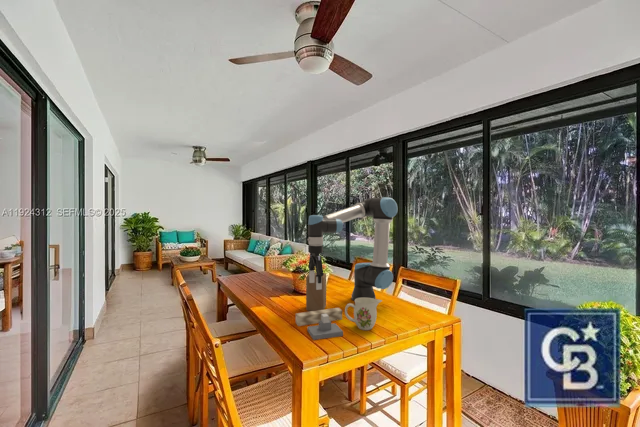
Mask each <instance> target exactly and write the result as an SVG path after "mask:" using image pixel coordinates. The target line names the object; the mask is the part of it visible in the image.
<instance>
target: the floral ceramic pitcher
mask: <svg viewBox="0 0 640 427" xmlns="http://www.w3.org/2000/svg"><path fill="white" fill-rule="evenodd" d="M381 302H383V300H382V299H377V298H376V299H374V298H366V297H362V298H356V299H355V301H354V303H351V302H349V303H347V304H346V305H345V308H344V315H345V317H346V318H347V320H349V321H351V322H353V323H355V324H356V327H357V328H358V329H359V330H362V331H370V330H372V329H373V327H374V326H375V324H376V321H377V314H378V312H377V306H378V305H379V303H381ZM349 307H352V309H353V317H351V316H350V315H349V314H348V308H349Z"/></svg>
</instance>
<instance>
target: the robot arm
mask: <svg viewBox="0 0 640 427" xmlns="http://www.w3.org/2000/svg"><path fill="white" fill-rule="evenodd" d="M398 211H399V210H398V204H397V202H396V201H395V199H393V198H392V197H387V196H386V197H385V196H382V197H371V198H367V199H364V200H361V201H360V202H357V203H355V205H352V206H350V207H346V208H344V209H343V208H342V209H341V210H338V211H333V212H331V213H329V214H326V215H323V214H312V215H309V216H308V223H307V225H308V226H307V227H308V228H307V230H308V238H307V240H306V241H307V242H308V243H307V244H308V246H307V247H308V248H307V251H308V253H309V260H308V270H309V273H308V274H309V283H315V273H317V275H316V290H320V289H322V276H323V275H324V274H323V273H324V269H323V268H324V267H323V262H322V260H323V258H322V256H321V255H320V254H322V253H324V246H323V244H324V234H331V233H332V234H333V233H335V234H336V233H340V232H341V231H342V230H343V227H344V223H346V222H349V221H352V220H355V219H357V218H361V219H362V218H365V217H366V218H367V217H372V219H373V221H374V222H375V223H374V225H375V226H374V236H373V237H374V238H373V250H372V251H373V254H372V262H359V263H356V264H355V265H354V269H353V270H354V272H353V274H354V276H353V278H354V288H353V290H352V293H351V300H352V301H354V302H355V299H356V298H362V297H366V298H374V299H377V298H376V294H375V289H374V288H376V289H381V290H386V289H388V288H389V287H390V286H391V285H392V284H393V280H394V273H393V271H391V270H390V267H391V266H390V264H388V259H389V256H388V255H389V242H390V226H391V223H392V222H393V219H394V217H395V216H396V215H397V214H398Z"/></svg>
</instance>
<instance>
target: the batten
mask: <svg viewBox="0 0 640 427" xmlns="http://www.w3.org/2000/svg"><path fill="white" fill-rule="evenodd" d="M321 314H327V315H328V316H329V320H330V321H331V322H333V321H339V320H343V310H342V309H341V308H340V307H335V308H334V307H333V308H327V309H324V310H318V311H304V312H298V313H297V312H296V313H295V324H296V325H297V327H301V326H308V325H309V326H310V325H315V324H319V321H321Z"/></svg>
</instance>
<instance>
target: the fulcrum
mask: <svg viewBox="0 0 640 427" xmlns="http://www.w3.org/2000/svg"><path fill="white" fill-rule="evenodd" d="M307 332H308V334H309V335H310V337H311V339H312V340H313V341H315V340H316V341H317V340H322V339H323V340H324V339H329V338H330V339H331V338H336V337H337V338H338V337H343V336H344V331H343V330H342V329H341V327H339V325H337V323H333V322H332V321H330V320H329V316H328V315H327V314H321V321H319V323H318V325H309V326H307Z"/></svg>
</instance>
